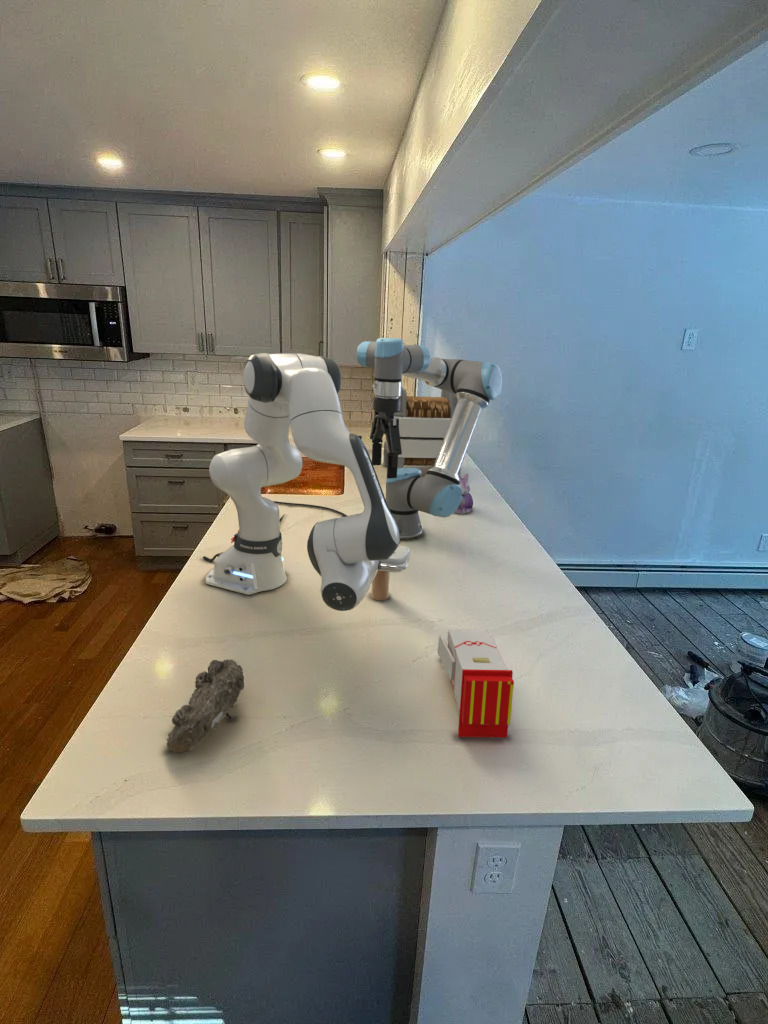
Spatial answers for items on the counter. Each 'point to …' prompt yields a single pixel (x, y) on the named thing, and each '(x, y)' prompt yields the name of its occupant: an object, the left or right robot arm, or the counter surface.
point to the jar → (380, 585)
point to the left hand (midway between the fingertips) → (372, 541)
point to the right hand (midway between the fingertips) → (383, 471)
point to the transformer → (422, 428)
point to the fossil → (206, 705)
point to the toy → (478, 682)
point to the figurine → (465, 496)
